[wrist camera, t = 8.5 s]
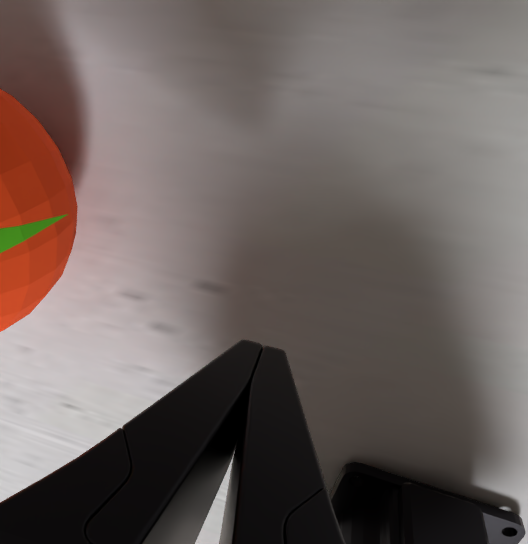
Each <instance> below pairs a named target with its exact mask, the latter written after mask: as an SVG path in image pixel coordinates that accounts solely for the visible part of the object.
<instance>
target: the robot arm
mask: <svg viewBox="0 0 528 544" xmlns="http://www.w3.org/2000/svg"><path fill="white" fill-rule="evenodd" d="M234 451H235V453H234ZM233 454H234V457H233ZM232 457H233V463H232V468H231V473H230V480H229V486H228V492H227V498H226V504H225V510H224V516H223V523H222V529H221V535H220V541H219V544H518V543H519V542H520V541H521V539H522V538H523V537H524V535H525V529H524V525H523V522H522V519H521V518H520V517H519V516H518V515H516V514H514V513H511V512H508V511H505V510H502V509H499V508H496V507H493V506H490V505H487V504H484V503H481V502H478V501H475V500H472V499H469V498H466V497H463V496H460V495H456V494H453V493H450V492H447V491H444V490H441V489H438V488H435V487H432V486H429V485H426V484H423V483H420V482H417V481H414V480H411V479H408V478H405V477H401V476H398V475H395V474H392V473H389V472H386V471H383V470H380V469H377V468H374V467H371V466H368V465H365V464H362V463H357V462H353V463H349V464H346V465H345V466H344V468H343V469H342V471H341V474H340V476H339V478H338V480H337V482H336V484H335V486H334V488H333V490H332V492H331V494H330V496H329V493H328V490H327V489H326V484H325V481H324V478H323V474H322V471H321V468H320V464H319V461H318V458H317V455H316V451H315V448H314V445H313V442H312V438H311V435H310V432H309V428H308V425H307V422H306V419H305V415H304V412H303V409H302V405H301V402H300V399H299V396H298V392H297V389H296V386H295V383H294V379H293V376H292V373H291V369H290V366H289V363H288V360H287V356H286V353H285V351H284V350H281V349H278V348H274V347H270V346H264V347H262V345H261V344H259V343H256V342H252V341H249V340H241V341H239V342H238V343H237V344H235V345H234V346H233V347H231V348H230V349H228V350H227V351H226V352H224V353H223V354H221V355H220V356H219V357H217V358H216V359H215V360H213V361H212V362H210V363H209V364H208V365H206V366H205V367H204V368H202V369H201V370H199V371H198V372H197V373H195V374H194V375H193V376H191V377H190V378H188V379H187V380H186V381H184V382H183V383H181V384H180V385H179V386H177V387H176V388H175V389H173V390H172V391H170V392H169V393H168V394H166V395H165V396H164V397H162V398H161V399H159V400H158V401H157V402H155V403H154V404H153V405H151V406H150V407H148V408H147V409H146V410H144V411H143V412H141V413H140V414H139V415H137V416H136V417H135V418H133V419H132V420H130V421H129V422H128V423H126V424H125V425H124V426H123V427H122V428H119V429H118V430H116V431H115V432H114V433H112V434H111V435H109V436H108V437H107V438H105V439H104V440H102V441H101V442H100V443H98V444H97V445H95V446H94V447H92V448H91V449H89V450H88V451H86V452H85V453H83V454H82V455H80V456H79V457H77V458H76V459H74V460H72V461H71V462H69V463H67V464H66V465H64V466H63V467H61V468H59V469H58V470H56V471H54V472H53V473H51V474H49V475H48V476H46V477H44V478H42V479H41V480H39V481H37V482H35V483H34V484H32V485H30V486H28V487H27V488H25V489H23V490H21V491H20V492H18V493H16V494H14V495H13V496H11V497H9V498H7V499H6V500H4V501H2V502H0V544H195V542H196V540H197V537H198V535H199V533H200V530H201V528H202V526H203V524H204V521H205V519H206V517H207V515H208V512H209V510H210V508H211V506H212V503H213V501H214V499H215V496H216V494H217V492H218V490H219V487H220V485H221V483H222V481H223V478H224V476H225V474H226V472H227V469H228V467H229V464H230V462H231V460H232ZM354 476H356V477H354Z"/></svg>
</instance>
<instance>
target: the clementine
mask: <svg viewBox="0 0 528 544" xmlns="http://www.w3.org/2000/svg"><path fill="white" fill-rule="evenodd" d="M76 223H77V202H76V197H75V192H74V187H73V182H72V178H71V175H70V173H69V171H68V169H67V166H66V164H65V162H64V160H63V158H62V155H61V153H60V151H59V149H58V147H57V146H56V144H55V143H54V142H53V140H52V139H51V137H50V136H49V135H48V133H47V132H46V130H45V129H44V128H43V126H42V125H41V123H40V122H39V121H38V120H37V119H36V118H35V117H34V116H33V115H32V114H31V113H30V112H29V111H28V110H27V109H26V108H25V107H24V106H23V105H21V104H20V103H19V102H18V101H17V100H16V99H15V98H14V97H13V96H11V95H10V94H8V93H6V92H5V91H3V90H1V89H0V332H1V331H3V330H5V329H6V328H8V327H9V326H11V325H13V324H14V323H16V322H17V321H19V320H20V319H22V318H24V317H25V316H27V315H28V314H30V313H31V312H32V310H33V309H34V308H35V307H36V306H37V305H38V304H39V303H40V301H41V300H42V299H43V298H44V297H45V296H46V295H47V293H48V292H49V291H50V290H51V288H52V287H53V286H54V285H55V283H56V282H57V281H58V280H59V278H60V277H61V276H62V274H63V271H64V268H65V266H66V263H67V261H68V258H69V256H70V253H71V250H72V246H73V242H74V238H75V234H76Z"/></svg>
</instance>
